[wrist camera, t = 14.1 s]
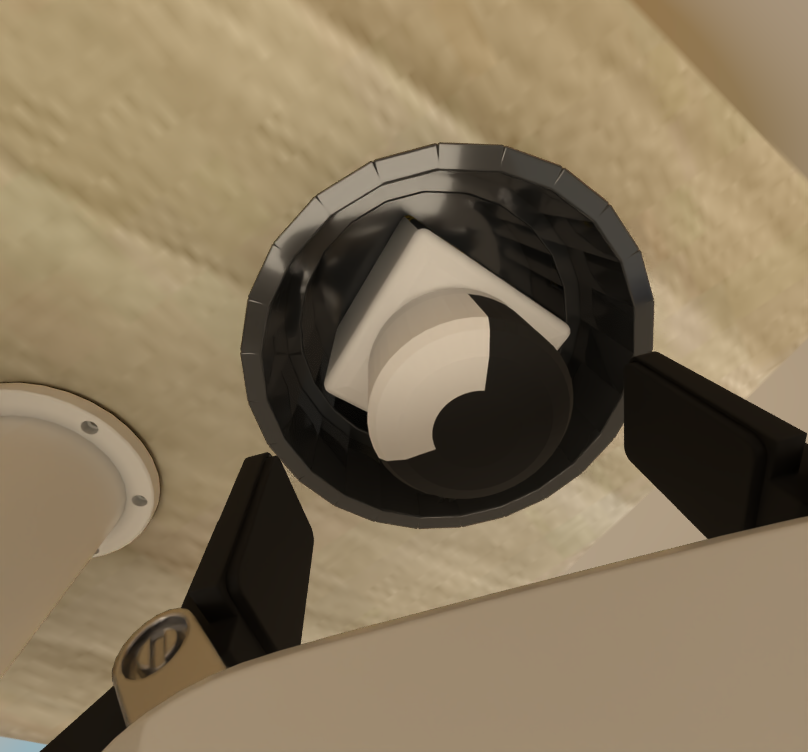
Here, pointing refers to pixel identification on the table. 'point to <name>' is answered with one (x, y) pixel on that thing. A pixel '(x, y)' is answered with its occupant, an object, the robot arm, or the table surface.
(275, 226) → the table surface
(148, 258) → the table surface
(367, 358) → the medicine bottle
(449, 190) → the bucket
